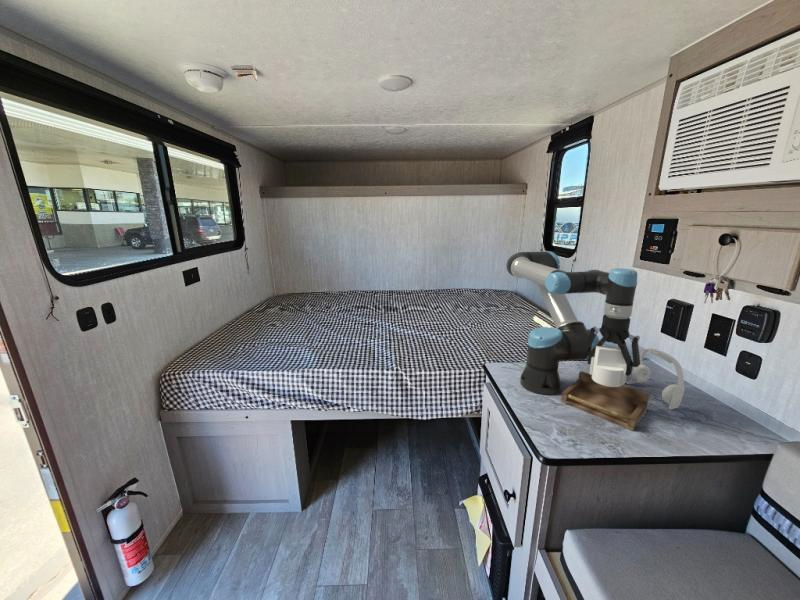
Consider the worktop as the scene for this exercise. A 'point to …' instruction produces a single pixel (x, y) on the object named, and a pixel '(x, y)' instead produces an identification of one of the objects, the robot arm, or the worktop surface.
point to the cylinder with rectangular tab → (608, 366)
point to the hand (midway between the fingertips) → (607, 377)
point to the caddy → (607, 401)
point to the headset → (671, 392)
